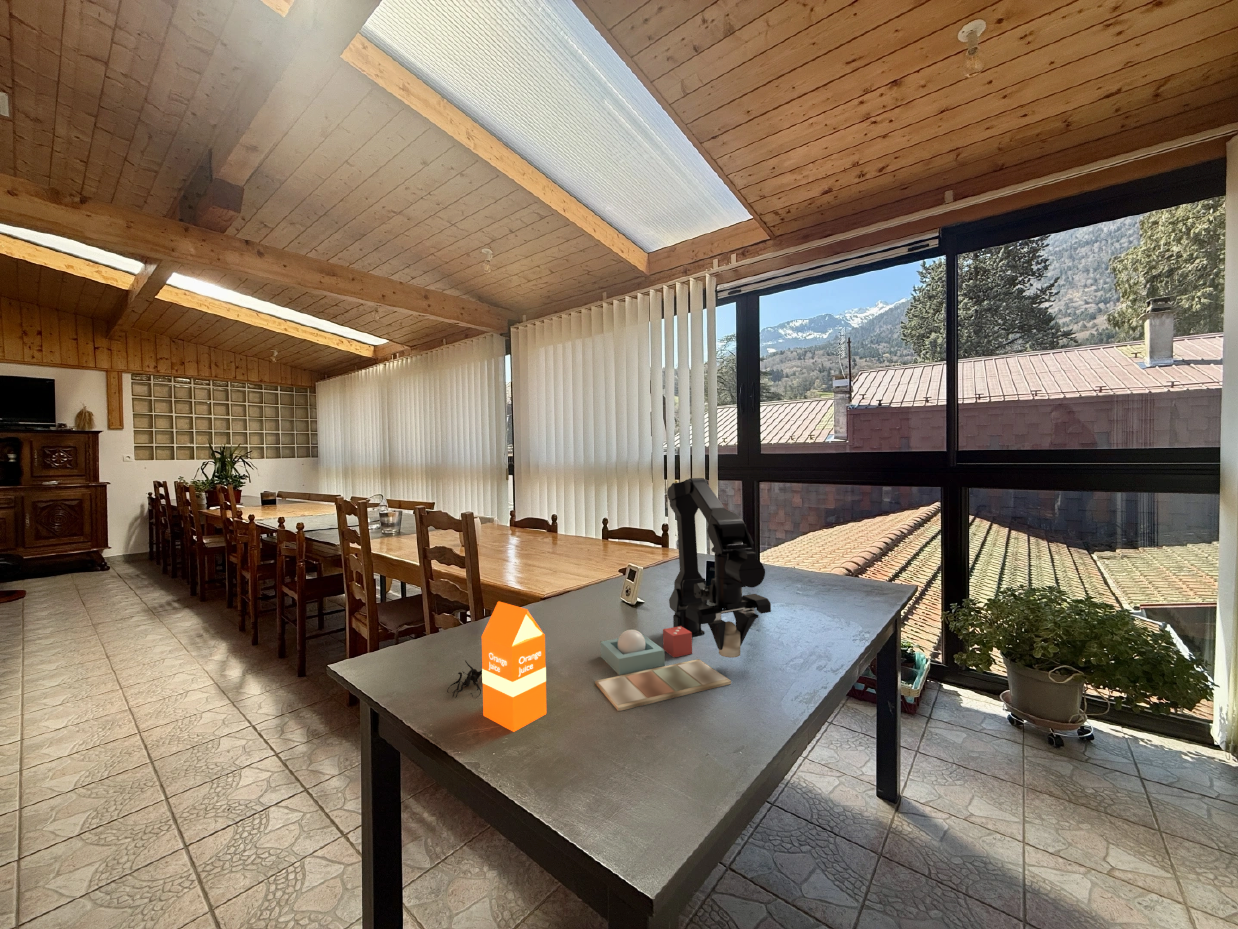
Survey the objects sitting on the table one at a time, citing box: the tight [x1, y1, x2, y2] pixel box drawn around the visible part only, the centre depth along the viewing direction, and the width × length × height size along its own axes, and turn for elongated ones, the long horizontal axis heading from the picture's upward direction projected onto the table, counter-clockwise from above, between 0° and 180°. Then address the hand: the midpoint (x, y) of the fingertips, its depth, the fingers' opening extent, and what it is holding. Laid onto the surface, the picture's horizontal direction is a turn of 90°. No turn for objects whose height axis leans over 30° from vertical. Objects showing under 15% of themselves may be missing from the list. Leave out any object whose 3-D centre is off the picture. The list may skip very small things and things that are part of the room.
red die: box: [662, 626, 693, 658], centre depth 115 cm, size 5×5×5 cm
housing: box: [599, 633, 666, 676], centre depth 111 cm, size 11×11×4 cm
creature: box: [447, 660, 482, 699], centre depth 97 cm, size 8×5×8 cm
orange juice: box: [480, 600, 547, 733], centre depth 88 cm, size 8×9×20 cm
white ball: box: [618, 629, 646, 655], centre depth 111 cm, size 6×6×6 cm
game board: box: [594, 658, 732, 712], centre depth 99 cm, size 25×12×1 cm, turn 113°
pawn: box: [718, 620, 741, 659], centre depth 106 cm, size 5×5×7 cm
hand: (729, 647), depth 106 cm, fingers closed on pawn, 5 cm apart
